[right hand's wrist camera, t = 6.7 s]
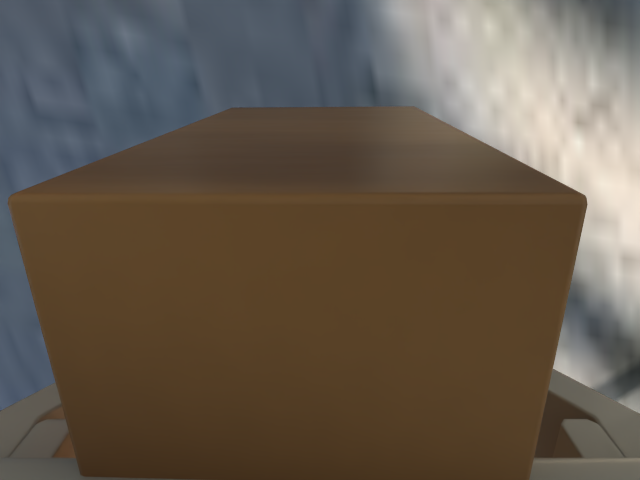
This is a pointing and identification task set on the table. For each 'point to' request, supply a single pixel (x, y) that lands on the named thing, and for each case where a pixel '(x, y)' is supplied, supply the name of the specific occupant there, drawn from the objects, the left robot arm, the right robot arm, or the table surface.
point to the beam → (302, 299)
